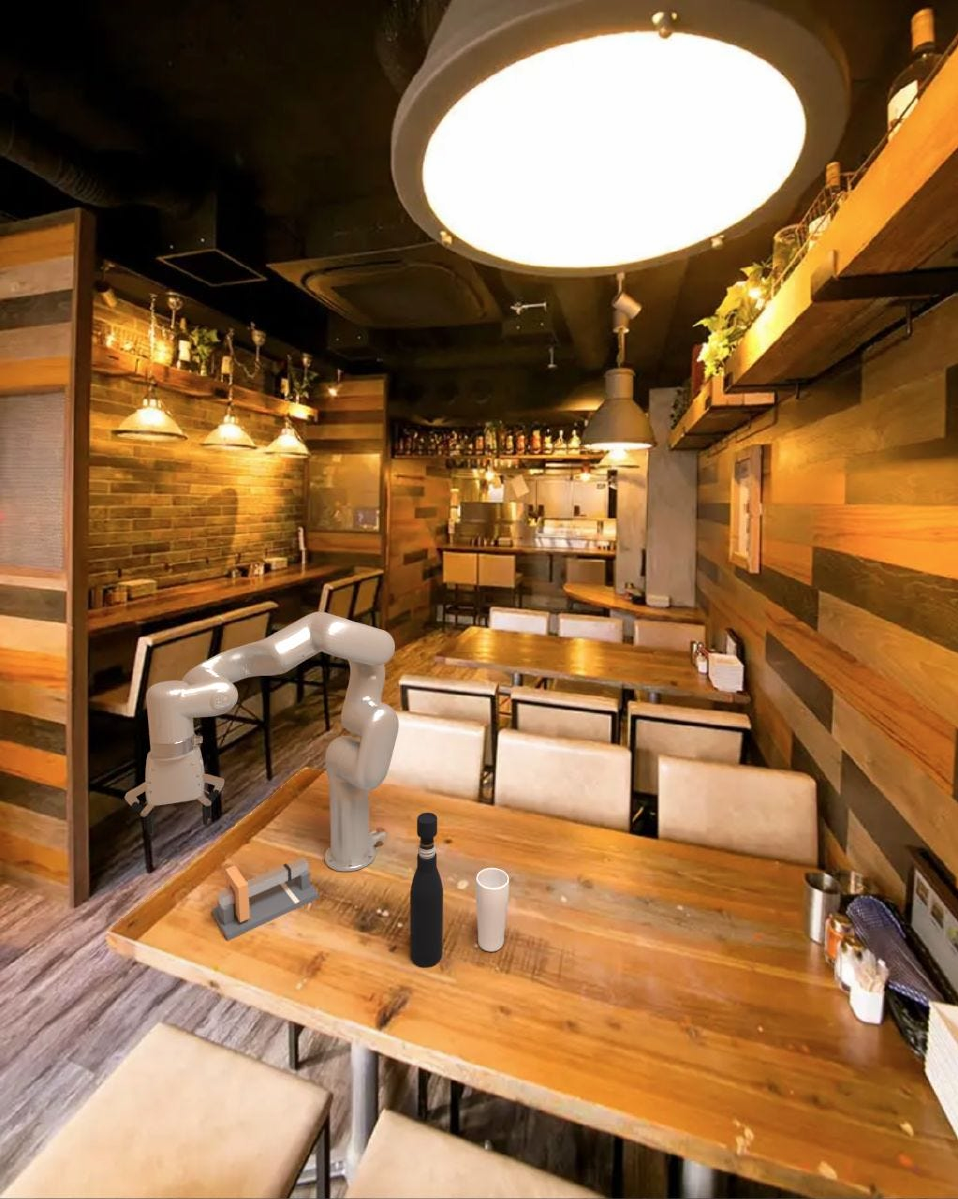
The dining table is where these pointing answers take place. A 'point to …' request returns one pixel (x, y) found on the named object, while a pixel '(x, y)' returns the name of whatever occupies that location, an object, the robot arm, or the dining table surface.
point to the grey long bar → (266, 881)
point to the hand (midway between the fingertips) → (179, 826)
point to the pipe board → (267, 906)
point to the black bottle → (426, 898)
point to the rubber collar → (238, 893)
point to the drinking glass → (491, 907)
